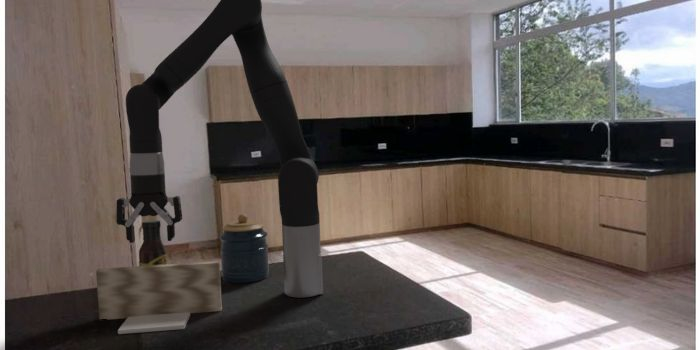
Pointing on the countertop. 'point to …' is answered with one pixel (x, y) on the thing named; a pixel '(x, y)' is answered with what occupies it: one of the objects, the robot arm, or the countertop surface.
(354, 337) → the countertop surface
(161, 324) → the white plate
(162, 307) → the birch board
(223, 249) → the canister
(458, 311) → the countertop surface
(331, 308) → the countertop surface
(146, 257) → the sauce bottle
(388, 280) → the countertop surface
